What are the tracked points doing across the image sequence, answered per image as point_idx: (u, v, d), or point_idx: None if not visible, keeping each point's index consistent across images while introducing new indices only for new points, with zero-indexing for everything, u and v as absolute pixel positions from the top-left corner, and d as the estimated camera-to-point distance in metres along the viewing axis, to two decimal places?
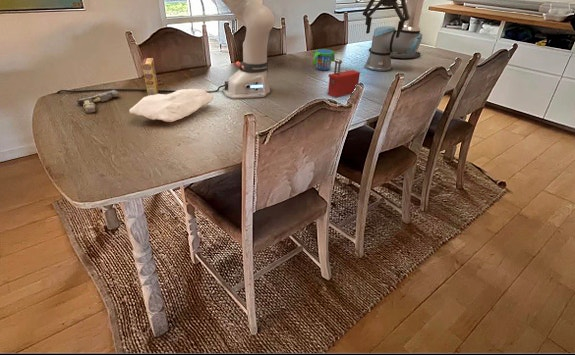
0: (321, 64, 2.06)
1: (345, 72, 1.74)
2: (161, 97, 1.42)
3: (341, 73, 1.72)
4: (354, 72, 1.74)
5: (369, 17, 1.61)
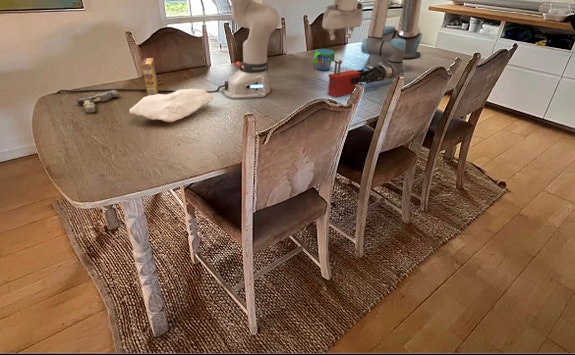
0: (321, 64, 2.06)
1: (345, 72, 1.74)
2: (161, 97, 1.42)
3: (341, 73, 1.72)
4: (354, 72, 1.74)
5: None
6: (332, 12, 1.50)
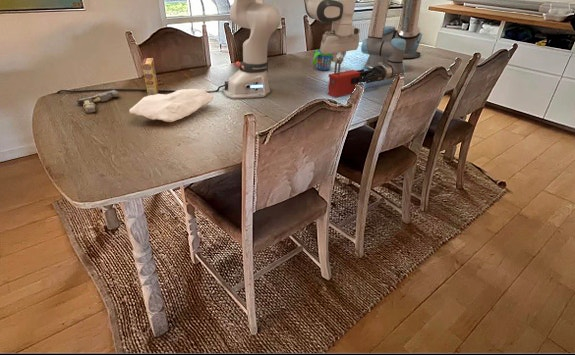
0: (321, 64, 2.06)
1: (345, 72, 1.74)
2: (161, 97, 1.42)
3: (341, 73, 1.72)
4: (354, 72, 1.74)
5: None
6: (330, 38, 1.56)
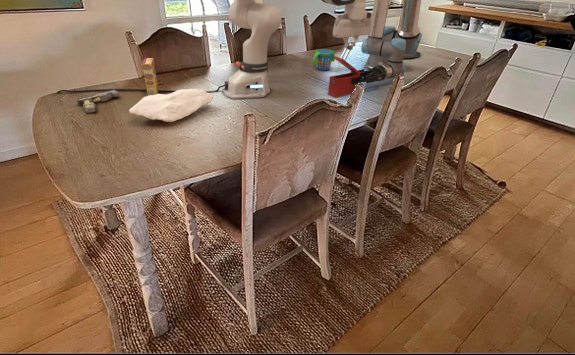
0: (321, 64, 2.06)
1: None
2: (161, 97, 1.42)
3: None
4: None
5: None
6: (342, 21, 1.55)
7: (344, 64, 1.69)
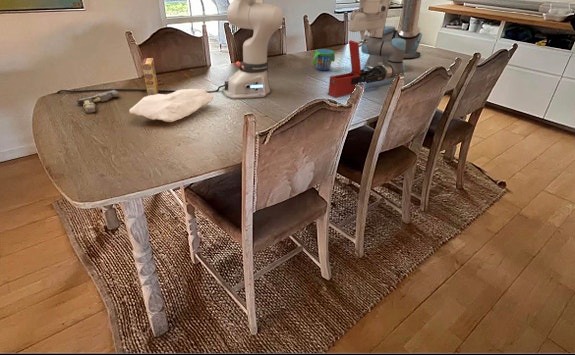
0: (321, 64, 2.06)
1: None
2: (161, 97, 1.42)
3: None
4: None
5: None
6: (358, 15, 1.59)
7: (354, 53, 1.69)
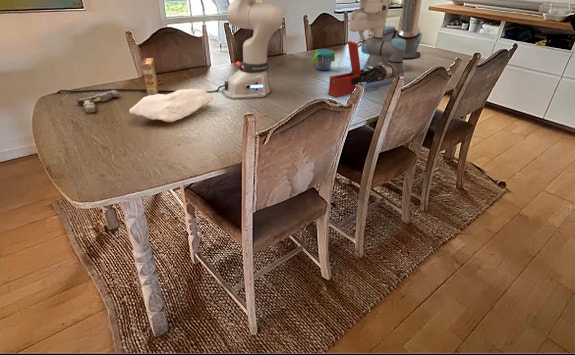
0: (321, 64, 2.06)
1: None
2: (161, 97, 1.42)
3: None
4: None
5: None
6: (359, 15, 1.59)
7: (353, 53, 1.69)
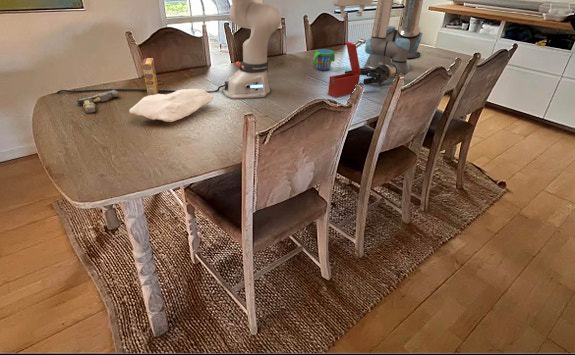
0: (321, 64, 2.06)
1: None
2: (161, 97, 1.42)
3: None
4: None
5: None
6: None
7: (352, 54, 1.69)
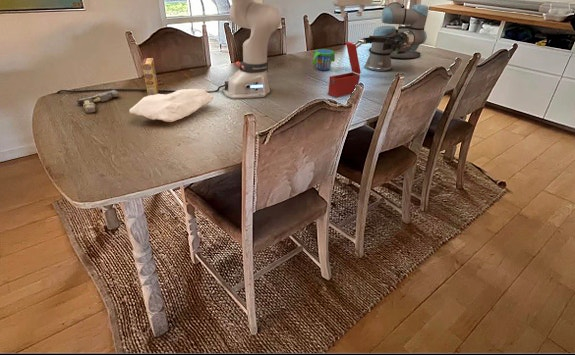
0: (321, 64, 2.06)
1: None
2: (161, 97, 1.42)
3: None
4: None
5: None
6: None
7: (352, 54, 1.69)
